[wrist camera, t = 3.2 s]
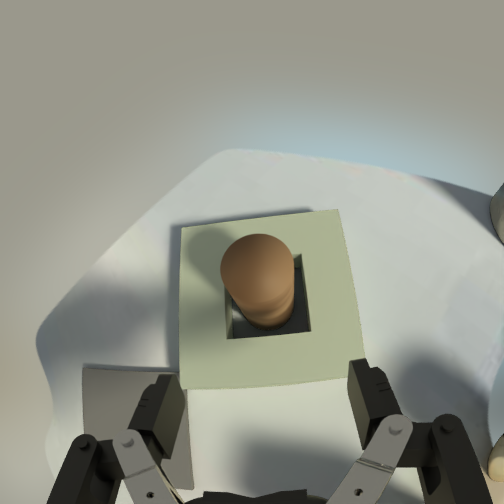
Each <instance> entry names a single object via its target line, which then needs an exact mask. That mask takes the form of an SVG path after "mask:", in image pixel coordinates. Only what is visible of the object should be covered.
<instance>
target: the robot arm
mask: <svg viewBox="0 0 504 504" xmlns="http://www.w3.org/2000/svg"><path fill="white" fill-rule="evenodd" d="M490 214H491V219H492V222H493V225H494V228H495V230H496V232H497V234H498V236H499V237H500V239H501V241H502V242H503V243H504V183H503V185H502V186H501V187H500V189H499V190H498V191H497V192H496V194H495V195H494V196H493V198H492V200H491V204H490ZM347 389H348V396H349V400H350V403H351V407H352V411H353V414H354V418H355V422H356V426H357V430H358V434H359V438H360V442H361V446H362V450H365V451H364V453H363V455H362V456H361V458H360V459H357V460H356V462H355V463H354V464H353V466H352V467H351V469H350V471H349V472H348V474H347V475H346V477H345V478H344V479H343V481H342V482H341V484H340V485H339V487H338V488H337V489H336V491H335V492H334V494H333V495H332V496H331V498H330V499H329V500H327V499H324V498H321V497H318V496H313V495H307V489H304V490H293V491H280V492H277V493H273V494H269V495H265V496H261V497H256V498H251V497H246V496H242V495H237V494H233V493H228V492H208V491H204V493H203V497H200V498H196V499H193V500H190V501H188V502H186V503H185V502H184V501H183V499H182V498H181V497H180V495H179V494H178V492H177V491H176V489H175V488H174V486H173V484H172V483H171V481H170V479H169V478H168V476H167V474H166V473H165V471H164V469H163V467H162V466H161V462H162V459H170V460H171V456H172V453H173V449H174V445H175V441H176V438H177V434H178V431H179V427H180V423H181V420H182V416H183V413H184V409H185V396H184V393H183V391H182V388H181V386H180V383H179V381H178V378H177V376H176V375H175V374H159V376H158V378H157V380H156V383H155V384H150V385H149V386H148V387H147V388H146V389H145V390H144V391H143V393H142V395H141V398H140V400H139V402H138V405H137V407H136V409H135V412H134V414H133V416H132V419H131V421H130V423H129V426H128V428H127V430H123V431H121V432H119V433H118V434H116V436H115V437H114V439H110V440H101V441H97V440H96V438H95V437H94V436H92V435H90V434H82V435H80V436H78V437H76V438H75V439H74V441H73V442H72V444H71V447H70V449H69V451H68V453H67V455H66V458H65V460H64V462H63V465H62V467H61V469H60V472H59V474H58V476H57V479H56V481H55V484H54V486H53V489H52V491H51V493H50V496H49V498H48V501H47V504H115V501H116V498H117V494H118V490H119V487H120V483H121V480H122V479H124V482H125V485H126V487H127V489H128V491H129V494H130V496H131V498H132V500H133V502H134V504H376V503H377V501H378V500H379V498H380V496H381V494H382V493H383V491H384V489H385V487H386V486H387V484H388V482H389V480H390V478H391V476H392V474H393V473H394V471H395V469H396V467H416V468H417V472H418V475H419V479H420V483H421V488H422V492H423V496H424V501H425V504H493V502H492V499H491V496H490V493H489V490H488V487H487V484H486V481H485V478H484V476H483V473H482V470H481V468H480V465H479V462H478V460H477V457H476V455H475V452H474V450H473V447H472V445H471V442H470V440H469V438H468V435H467V433H466V431H465V429H464V426H463V424H462V422H461V420H460V419H459V418H458V417H456V416H455V415H451V414H444V415H440V416H439V417H437V418H436V419H435V420H434V422H433V423H416V422H412V421H411V420H410V419H409V418H407V417H406V416H403V414H402V412H401V410H400V407H399V405H398V403H397V400H396V398H395V395H394V393H393V391H392V390H391V386H390V384H389V382H388V379H387V377H386V374H385V373H384V372H383V371H382V370H381V369H380V368H378V367H373V368H370V367H369V364H368V362H367V360H366V358H362V359H356V360H350V361H349V368H348V382H347Z"/></svg>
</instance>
